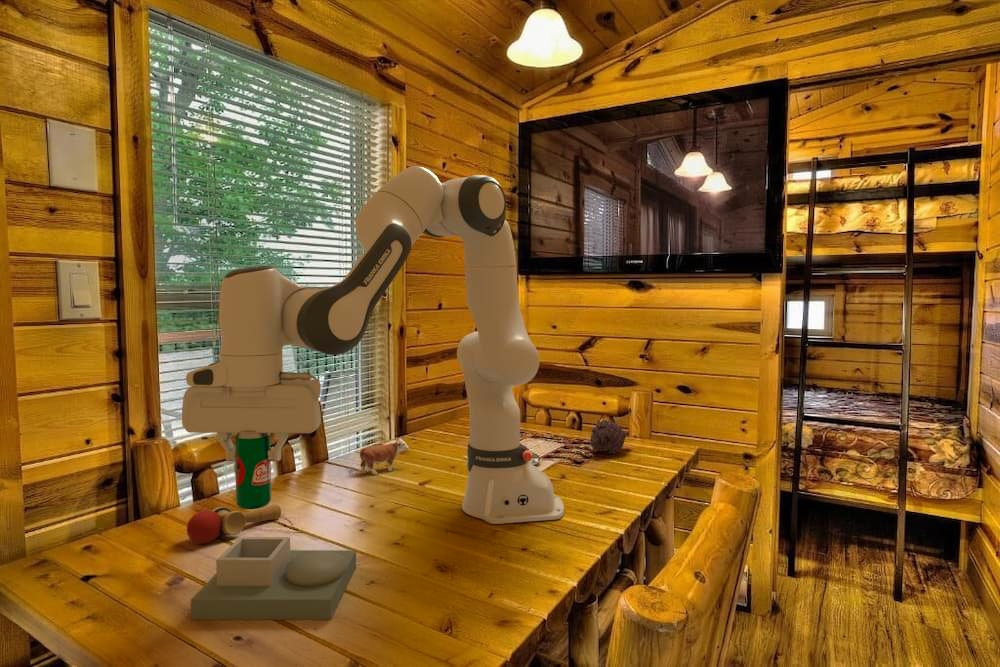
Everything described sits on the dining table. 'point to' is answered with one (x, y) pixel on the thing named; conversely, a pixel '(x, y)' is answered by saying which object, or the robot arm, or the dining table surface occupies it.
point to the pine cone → (608, 437)
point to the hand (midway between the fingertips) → (253, 460)
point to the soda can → (252, 469)
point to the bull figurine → (381, 454)
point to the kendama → (225, 522)
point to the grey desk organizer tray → (274, 582)
